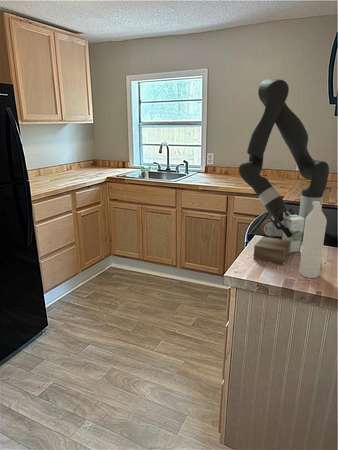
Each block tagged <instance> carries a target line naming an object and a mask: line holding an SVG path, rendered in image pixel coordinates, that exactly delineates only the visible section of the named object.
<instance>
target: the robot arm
mask: <svg viewBox="0 0 338 450" xmlns="http://www.w3.org/2000/svg"><path fill="white" fill-rule="evenodd" d="M289 91H290V88H289V84H288V83H287V82H286V81H285V80H284V79H278V78H267V79H264V80H262V82H261V83H260V84H259V86H258V91H257V93H258V98H259V100H260V102H261V103H262V104H263V106H264V111H263V113H262V116H261V118H260V120H259V122H257V125H256V127H255V128H254V129H253V131H252V134H251V135H250V136H251V137H250V140H249V142H248V146H247V150H246V153H247V154H248V156H249V158H248V161H244V162H242V163H240V165H239V166H238V174H239V176H240V178H241V179H242V180H243V181H244V182H245V183H247V185H249V187H251V188H252V189H253V191H254V193H255V194H256V195H257V197H258V198H259V200H260V203H262V205H263V207H264V208H265V209H266V211H267V212H268V213H269V215H270V217H269V219H270V220H271V221H272V222H273V224H274V225H275V227H276V228H277V230H283V232H284V233H285V234H286V236H287V237H288V238H289V237H291V236H292V235H293V234H292V233H291V231H290V230H289V229H288V227H287V225H286V222H287V221H286V218H285V216H289V215H297V214H296V213H295V211H294V210H293V209H292V208H291V207H290V208H288V209H287V208H286V206H287V203H286V202H285V201H284V199H283V197H281V195H280V193H279V192H278V191H277V190H276V188H274V187H273V185H272V183H271V182H270V181H269V180H268V178H266V177H263V176H262V175H261V172H262V169H263V166H264V164H263V163H264V154H265V152H266V148H267V145H268V142H269V140H270V135H271V134H272V130H273V128H274V126H276V127H277V129H278V131H279V132H280V135H281V138H282V139H283V141H284V142H285V144H286V146H287V148H288V149H289V151H290V153H291V156H292V157H293V158H294V161H295V163H296V165H297V169H298V171H299V173H300V175H301V177H302V178H303V179H305V180H307V181H310V183H309V186H308V187H304V188H302V190H301V195H300V203H299V205H300V206H299V211H298V216H300V217H302V218H304V219H305V220H306V217H307V216H308V215H309V213H310V212H311V211H312V210H313V207H314V205H312V203H313V201H318V202H320V205H321V206H322V207H323V199H324V194H325V192H326V189H327V185H328V180H329V179H328V178H329V174H330V167H329V164H328V162H326V161H323V160H317V159H313V157H312V156H311V154H310V152H309V151H308V144H309V134H308V131H307V130H306V128H305V125H304V124H303V122H302V120H301V119H300V118H299V117H298V115H296V114H295V113H294V112H293V111H292V110H291V108H289V106H288V104H287V103H286V100H287V98H288V95H289V93H290V92H289ZM305 220H304V227H303V233H304V228H305ZM277 223H278V225H279V226H278V225H277ZM286 227H287V228H286Z"/></svg>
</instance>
